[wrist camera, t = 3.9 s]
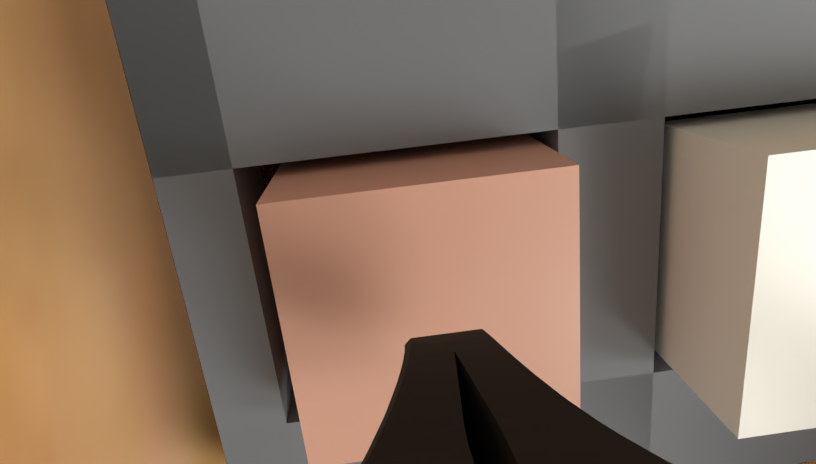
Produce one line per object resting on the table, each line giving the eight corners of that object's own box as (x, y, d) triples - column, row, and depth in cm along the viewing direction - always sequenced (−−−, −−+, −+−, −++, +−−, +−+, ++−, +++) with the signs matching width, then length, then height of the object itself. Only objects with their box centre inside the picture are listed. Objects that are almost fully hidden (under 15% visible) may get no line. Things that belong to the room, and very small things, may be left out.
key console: (947, -86, 15) (1090, -115, 12) (860, 382, 19) (947, 441, 16) (156, -1, 14) (102, -10, 11) (265, 465, 18) (248, 544, 16)
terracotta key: (521, 130, 14) (579, 164, 11) (529, 339, 16) (580, 429, 13) (283, 159, 14) (256, 205, 10) (321, 367, 16) (309, 468, 12)
